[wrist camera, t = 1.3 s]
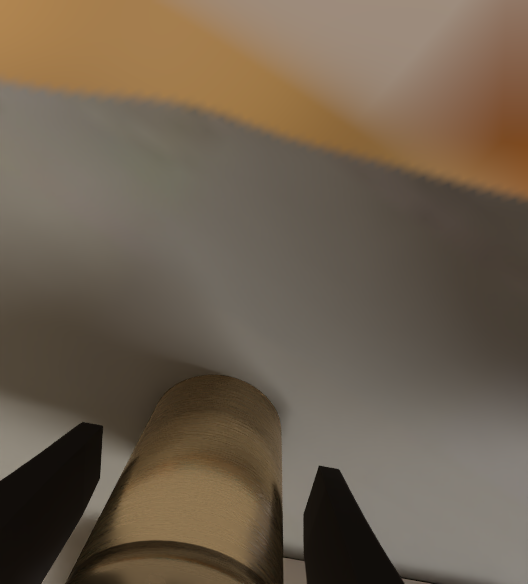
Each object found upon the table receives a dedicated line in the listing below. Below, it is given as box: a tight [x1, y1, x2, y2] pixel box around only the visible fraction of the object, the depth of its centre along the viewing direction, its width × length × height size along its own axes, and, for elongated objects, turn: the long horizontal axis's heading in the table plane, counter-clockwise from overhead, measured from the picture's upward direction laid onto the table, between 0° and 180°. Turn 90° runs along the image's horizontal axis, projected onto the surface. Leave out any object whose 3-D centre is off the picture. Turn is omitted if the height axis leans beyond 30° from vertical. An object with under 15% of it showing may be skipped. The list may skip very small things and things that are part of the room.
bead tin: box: [65, 375, 284, 584], centre depth 10 cm, size 4×4×6 cm
